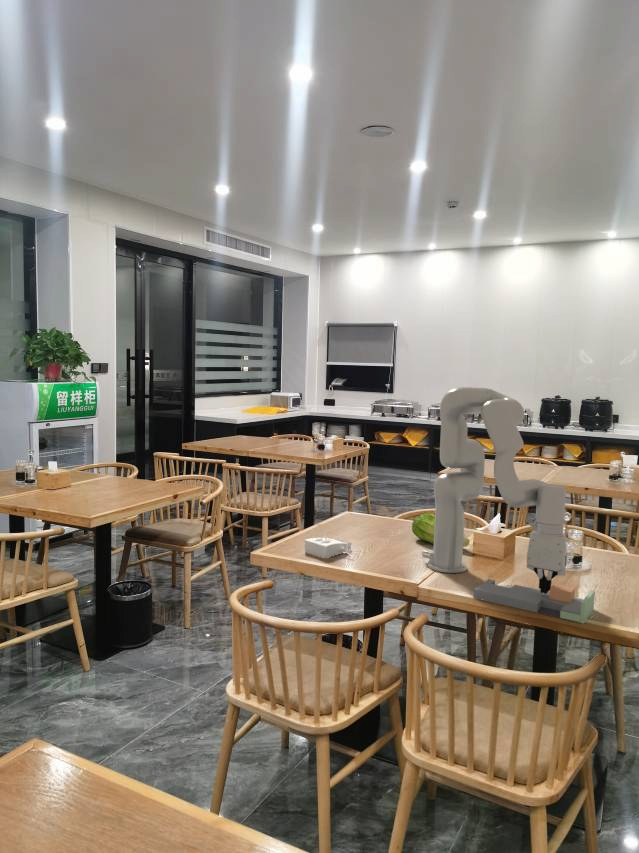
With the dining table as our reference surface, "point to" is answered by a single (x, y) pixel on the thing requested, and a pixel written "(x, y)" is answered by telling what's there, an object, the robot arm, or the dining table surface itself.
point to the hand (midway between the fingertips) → (544, 591)
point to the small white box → (326, 546)
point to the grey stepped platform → (536, 601)
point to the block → (562, 593)
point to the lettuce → (428, 528)
